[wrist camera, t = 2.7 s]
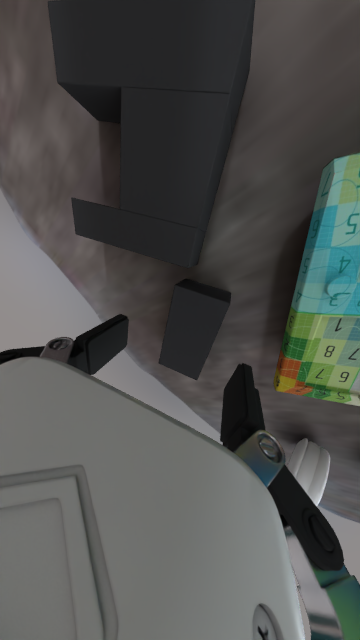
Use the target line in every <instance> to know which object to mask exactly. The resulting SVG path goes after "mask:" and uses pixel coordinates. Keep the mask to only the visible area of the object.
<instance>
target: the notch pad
mask: <svg viewBox="0 0 360 640" xmlns="http://www.w3.org/2000/svg"><path fill="white" fill-rule="evenodd" d="M48 8H49V17H50V25H51V33H52V42H53V50H54V58H55V66H56V75H57V82H58V83H59V84H60V85H61V86H62V87H63V88H64V89H65V90H66V91H67V92H68V93H69V94H70V95H71V96H72V97H73V98H74V99H75V100H77V101H78V102H79V103H80V104H81V105H82V106H83V107H84V108H85V109H86V110H87V111H88V112H89V113H90V114H91V115H92V116H93V117H95V118H96V119H97V120H98V121H107V122H116V123H121V153H120V209H117V208H113V207H109V206H105V205H101V204H97V203H92V202H88V201H84V200H80V199H76V198H71V199H72V208H73V216H74V224H75V233H76V234H77V235H80V236H83V237H86V238H90V239H93V240H96V241H100V242H103V243H106V244H110V245H113V246H116V247H120V248H123V249H126V250H130V251H133V252H136V253H140V254H143V255H146V256H150V257H153V258H156V259H160V260H163V261H166V262H170V263H173V264H176V265H180V266H183V267H186V268H189V267H192V266H194V265H197V263H198V259H199V256H200V252H201V248H202V245H203V241H204V237H205V233H206V230H207V226H208V222H209V219H210V215H211V211H212V208H213V204H214V200H215V196H216V193H217V189H218V185H219V182H220V178H221V174H222V170H223V167H224V163H225V159H226V156H227V152H228V148H229V144H230V141H231V135H232V133H233V129H234V125H235V122H236V118H237V114H238V111H239V107H240V103H241V99H242V96H243V92H244V88H245V85H246V81H247V77H248V73H249V69H250V57H251V45H252V33H253V21H254V8H255V0H56V1H48Z"/></svg>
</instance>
